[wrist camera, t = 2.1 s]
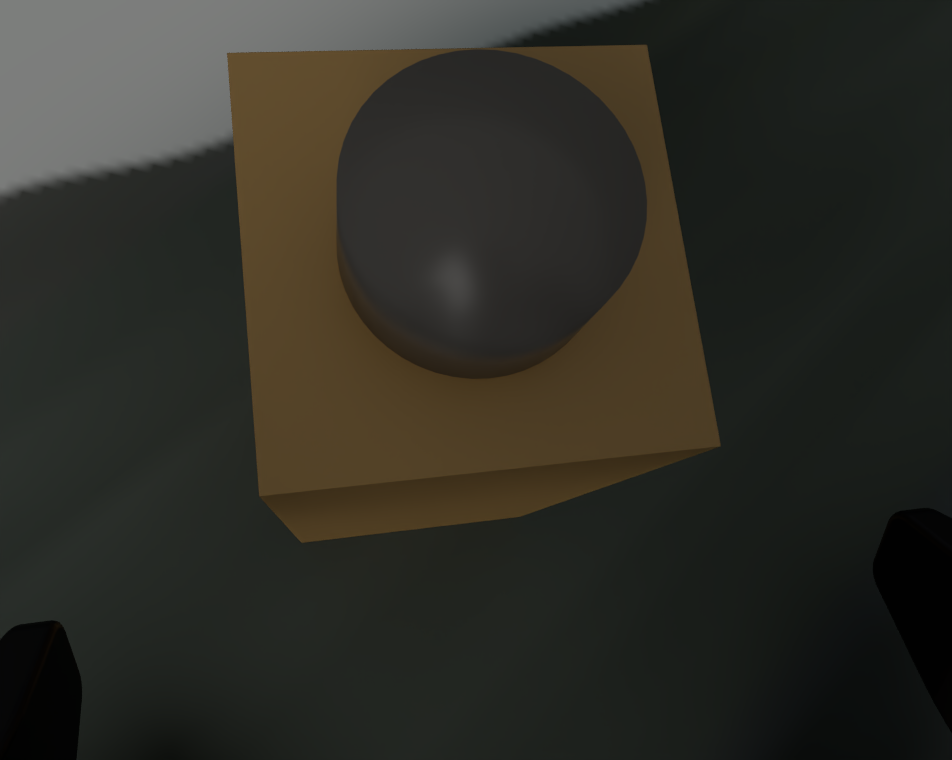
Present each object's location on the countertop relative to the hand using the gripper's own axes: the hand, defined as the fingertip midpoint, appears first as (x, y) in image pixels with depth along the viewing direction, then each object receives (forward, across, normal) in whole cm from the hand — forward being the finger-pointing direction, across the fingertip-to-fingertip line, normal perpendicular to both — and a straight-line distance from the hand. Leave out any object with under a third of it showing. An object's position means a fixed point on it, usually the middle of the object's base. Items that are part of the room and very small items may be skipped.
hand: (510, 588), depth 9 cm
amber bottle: (+10, 0, +5) cm, 11 cm away
